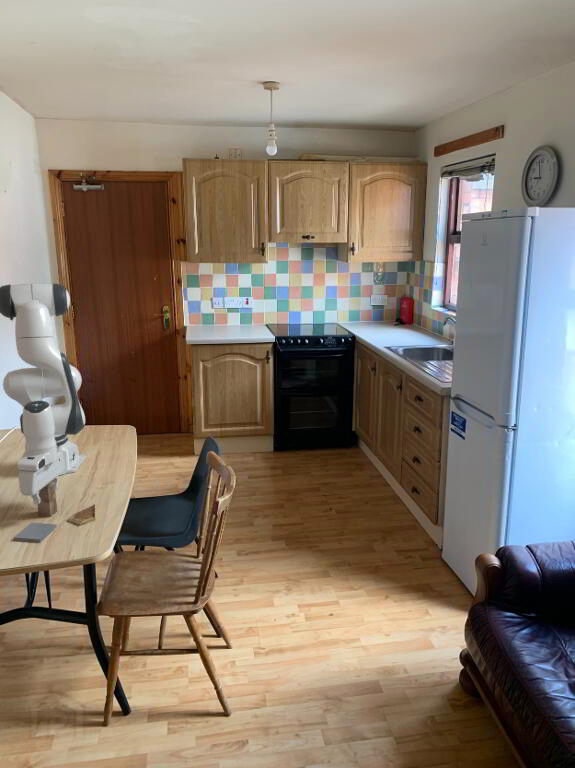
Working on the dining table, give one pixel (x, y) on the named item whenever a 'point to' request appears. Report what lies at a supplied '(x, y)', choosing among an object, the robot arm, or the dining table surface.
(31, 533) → the slate board
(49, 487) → the walnut block
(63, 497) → the dining table surface
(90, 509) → the shard
